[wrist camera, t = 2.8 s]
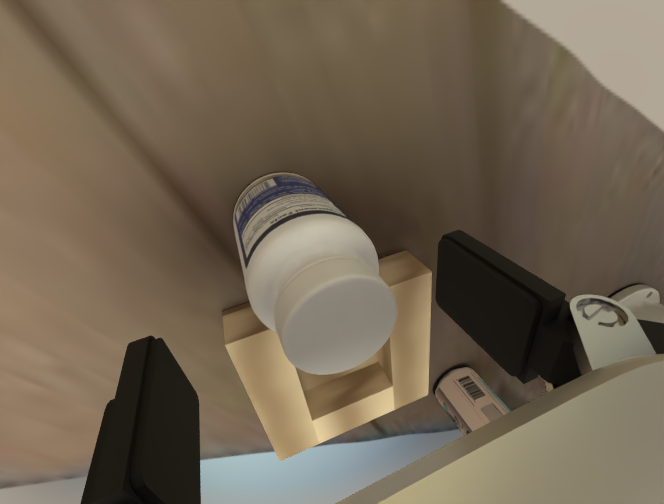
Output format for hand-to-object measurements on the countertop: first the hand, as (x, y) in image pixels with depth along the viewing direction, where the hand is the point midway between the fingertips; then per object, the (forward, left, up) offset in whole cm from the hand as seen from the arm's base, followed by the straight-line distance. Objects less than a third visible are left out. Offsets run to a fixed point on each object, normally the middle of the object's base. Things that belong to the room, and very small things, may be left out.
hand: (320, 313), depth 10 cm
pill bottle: (0, 0, -9) cm, 9 cm away
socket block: (-2, +12, -9) cm, 15 cm away
